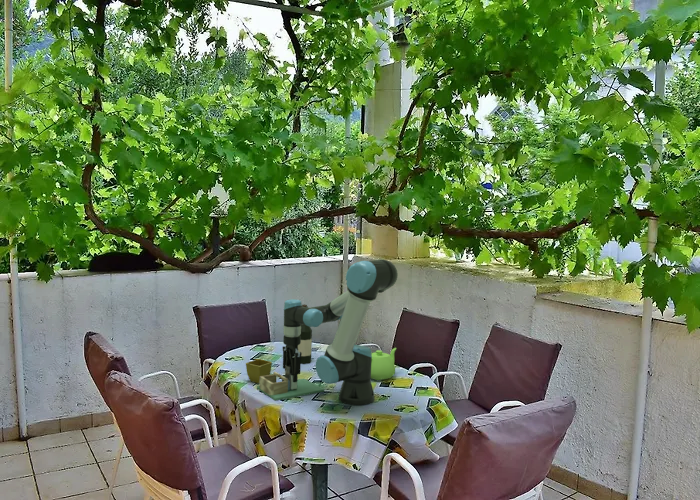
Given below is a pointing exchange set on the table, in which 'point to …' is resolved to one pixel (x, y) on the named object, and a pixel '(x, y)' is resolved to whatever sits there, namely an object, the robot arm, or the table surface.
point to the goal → (273, 384)
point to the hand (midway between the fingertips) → (291, 387)
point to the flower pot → (258, 369)
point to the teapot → (382, 365)
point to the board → (297, 390)
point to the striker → (288, 375)
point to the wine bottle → (305, 343)
